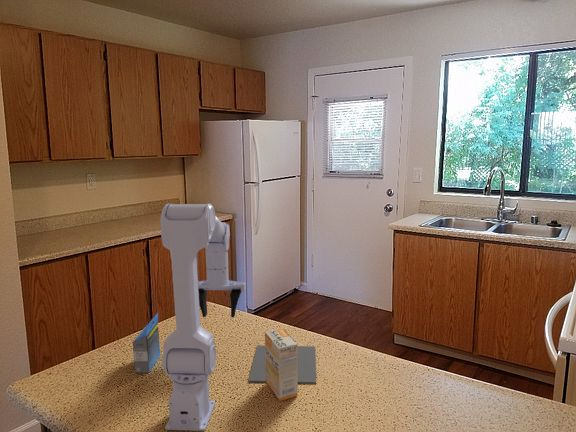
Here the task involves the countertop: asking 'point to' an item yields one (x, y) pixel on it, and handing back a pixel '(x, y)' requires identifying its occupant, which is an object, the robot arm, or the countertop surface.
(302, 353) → the mat
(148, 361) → the label tape cartridge
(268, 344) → the supplement box
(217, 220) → the robot arm
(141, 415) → the countertop surface
